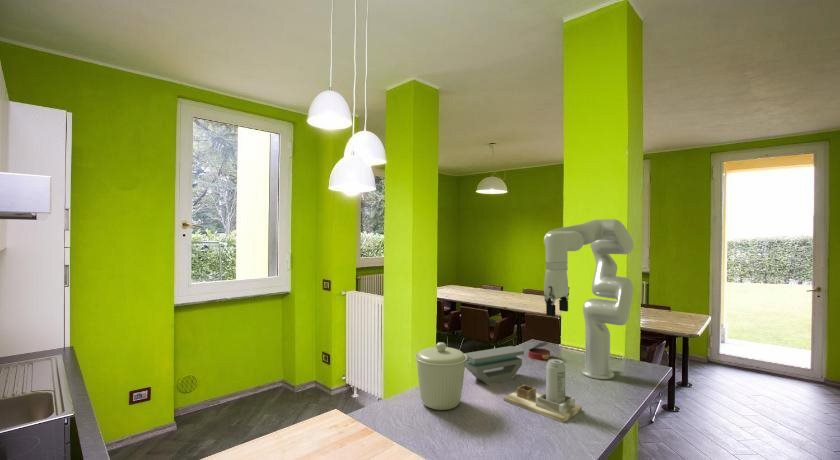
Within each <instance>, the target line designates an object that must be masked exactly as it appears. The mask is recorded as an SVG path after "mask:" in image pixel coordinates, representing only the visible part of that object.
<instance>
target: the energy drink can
mask: <svg viewBox="0 0 840 460" xmlns="http://www.w3.org/2000/svg"><path fill="white" fill-rule="evenodd" d="M545 370H546V371H545V372H546V374H545V375H546V376H545V377H546V378H545V379H546V381H545V386H546V387H545V389H546V390H545V392H546V400H549V401H552V402H555V403H558V404H562V403H563V402H565V395H566V365H565V364H564V360H561V359H559V358H557V359H556V358H550V359H548V360H547V363H546V368H545Z"/></svg>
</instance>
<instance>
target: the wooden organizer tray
mask: <svg viewBox="0 0 840 460" xmlns="http://www.w3.org/2000/svg"><path fill="white" fill-rule="evenodd" d="M503 401H504V402H506V403H509V404H512V405H514V406H517V407H519V406H520V408H522V409H525V410H527V411H530V412H533V413H536V414H539V415H541V416H544V417H547V418H549V419H552V420H554V421H557V422H560V423H562V424H563V423H564V422H566V421H568V420H569V419H571V418H572V417H574V416H575V415H577V414H578V413H580V412H581V411H582V410H583V409H582V406H581V405H577V404H575V403H576V398H575V397H572V396H570V395H567V394H565V402H563V403H562V404H558V403H555V402H552V401H549V400H546V391H545V392H543V393H541V392H539V391H537V388H536V387H533V386H530V385H527V384H522V385H519V386H518V387H516V391H514V392H512V393H510V394H507V395H506V396H503Z"/></svg>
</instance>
